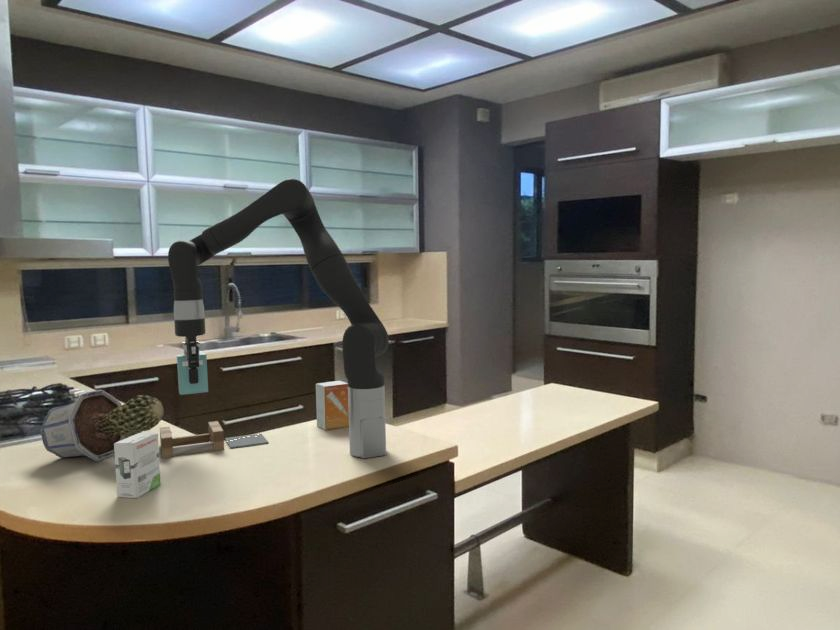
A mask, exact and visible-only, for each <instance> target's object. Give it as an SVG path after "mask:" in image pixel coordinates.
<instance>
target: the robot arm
mask: <svg viewBox="0 0 840 630" xmlns="http://www.w3.org/2000/svg"><path fill="white" fill-rule="evenodd" d="M280 215H283V216H284V217H285V218H286V219H287V221H288V222H289V223H290V226H292V227H291V228H293V230H294V231H295V233H296V234H297V236H298V238H299V240H300V242H301V245H302V249H303V252H304V256H305V259H306V262H307V264H308V267H309V269H310V272H311V274H312V275H313V277H314V279H315V282H316V284H317V285H318V286H319V288H320V290H321V291H322V292H323V293H324V294H325V295H326V296H327V298H329V299H330V300H331V301H332V302H333V303H334V304H336V306H338V307H339V309H341V311H342V312H343V313H344V314H345V316H346V317H347V319H348V321H349V322H350V325H349V326H348V327H347V328H346V329H345V330H344V333H343V336H342V342H341V344H342V347H341V349H342V361H343V363H342V364H343V371H344V376H345V378H346V381H347V383H348V406H349V426H348V434H349V435H348V436H349V437H348V439H349V454H350V455H351V456H353V457H356V458H361V459H368V458H376V457H380V456H386V455H387V454H386V453H387V437H386V435H387V434H386V399H385V398H386V397H385V396H386V395H385V394H386V393H385V388H386V387H385V375H384V374H383V373H382V372H380V371H378V369H377V364H376V361H377V360H376V357H378V356H381V355H383V354H385V353H386V351H387V350H388V347H389V343H390V342H389V341H390V339H389V333H388V331H387V329H386V327H385V325H384V324H383V323H382V322H383V321H381V320H380V318H379V317H378V315H377V314H376V312H375V311H374V309H373V308H372V306H371V305H370V303H369V301H368V300H367V298H366V296H365V294H364V293H363V290H362V288H361V286H360V285H359V283H358V281H357V279H356V278H355V276H354V274H353V272H352V270H351V268H350V266H349V264H348V262H347V259H346V258H345V256H344V254H343V253H342V251H341V250H340V248H339V246H338V244H337V243H336V241H335V240H334V238H333V237H332V236H331V235H330V233H329V232H328V229H327V228H326V227H325V225H324V223H323V221H322V218H321V216H320V214H319V211H318V208H317V206H316V203H315V201H314V197H313V195H312V194H311V192H310V190H309V189H308V188H307V186H306V185H305V183H304V182H303V181H301V180H299V179H296V178H286V179H284V180H282V181H280V182H278V183H277V184H276V185H274V186H273V187H272V188H270V189H269V190H268V191H266V192H265V193H264V194H262V195H260V196H259V197H258V198H256V199H255V200H253V201H252V202H251V203H249V204H248V205H246V206H244V207H242V209H240V210H239V211H237V212H235V213H233V214H232V215H230V216H228V217H226V218H224V219H222V220H220V221H218V222H216V223H214V224H212V225H210V226H208V227H206V228H205V229H204V230H203V231H202V232H201V234H199V235H198V236H196V237H195V236H194V238H192V239H189V240H177V241H174V242H173V243H172V244H171V245H170V247H169V248H168V252H167V253H168V254H167V262H168V267H169V271H170V274H171V279H172V282H173V300H174V301H173V320H174V334H175V336H176V337H179V338H180V337H181V338H182V337H184V341H185V342H184V341H183V342H182V349H183V354H184V355H185V357H186V361H188V370H189V382H190V384H195V383H198V382H199V381H198V367H199V358H200V355H199V353H200V347H201V345H200V342H199V341H197V337H198V336H204V335H205V334H206V316H205V305H204V301H203V300H204V299H203V298H204V297H203V284H202V281H201V279H200V278H199V277H198V270H197V267H198V266H201V265H202V264H204V263H206V262H207V261H208V260H210V259H211V258H213V257H214V256H216V255H217V254H219V253H222V252H224V251H226V250H228V249H229V248H231V247H233V246H235V245H237V244H239V243H241V242H243V241H244V240H245V239H247V238H248V237H250V235H251V234H252V233H253V232H254V231H255V230H257V228H259V227H260V226H261V225H263V223H264V224H265V222H267V221H269V220H271V219H273V218H275V217H278V216H280ZM191 360H195V361H196V363H191Z"/></svg>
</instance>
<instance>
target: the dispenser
mask: <svg viewBox="0 0 840 630" xmlns="http://www.w3.org/2000/svg"><path fill="white" fill-rule="evenodd" d="M207 423H208V433H201V434H191V435H185V436H177V437H173V434H172V431H171V430H172V429H171V428H170V427H171V426H164V427H159V439H160V440H159V442H160V448H161V449H160V451H161V456H162V457H161V458H162V459H164V458H171V457H172V458H173V457H174V456H182V455H188V454H195V453H201V452H210V451H214V452H216V451H217V452H218V451H223V450H225V437H224V435H225V434H224V429H223V428H222V425H221V424H220V423H219V421H218V420H214V421H208V422H207Z"/></svg>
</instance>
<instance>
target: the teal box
mask: <svg viewBox="0 0 840 630" xmlns="http://www.w3.org/2000/svg"><path fill="white" fill-rule="evenodd" d="M199 355H200V358H199V367H198V381H199V382H198V383H195V384H190V382H189V370H188V361H186V357H185V355H184V353H183V354H176V366H177V381H178V382H177V384H178V394H179V395H180V396H182V395H183V396H184V395H192V394H193V395H194V394H202V393H209V379H208V377H209V376H208V364H207V363H208V360H207V359H208V358H207V353H205V352H199ZM191 363H196V361H195V360H191Z"/></svg>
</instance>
